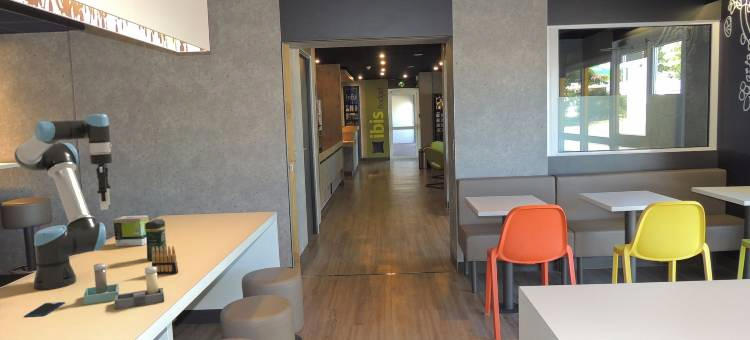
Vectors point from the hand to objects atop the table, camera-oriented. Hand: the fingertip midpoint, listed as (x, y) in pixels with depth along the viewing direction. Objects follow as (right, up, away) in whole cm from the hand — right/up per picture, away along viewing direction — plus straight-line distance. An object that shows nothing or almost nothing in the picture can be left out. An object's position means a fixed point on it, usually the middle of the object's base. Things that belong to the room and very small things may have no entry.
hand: (105, 207), depth 221 cm
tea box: (-23, -25, +79) cm, 86 cm away
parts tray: (+5, -33, -13) cm, 36 cm away
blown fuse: (+5, -32, -13) cm, 35 cm away
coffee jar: (+3, -27, +45) cm, 53 cm away
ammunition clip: (+17, -30, +17) cm, 38 cm away
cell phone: (-10, -35, -23) cm, 43 cm away
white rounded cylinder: (+26, -33, -18) cm, 45 cm away
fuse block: (+22, -33, -20) cm, 44 cm away
